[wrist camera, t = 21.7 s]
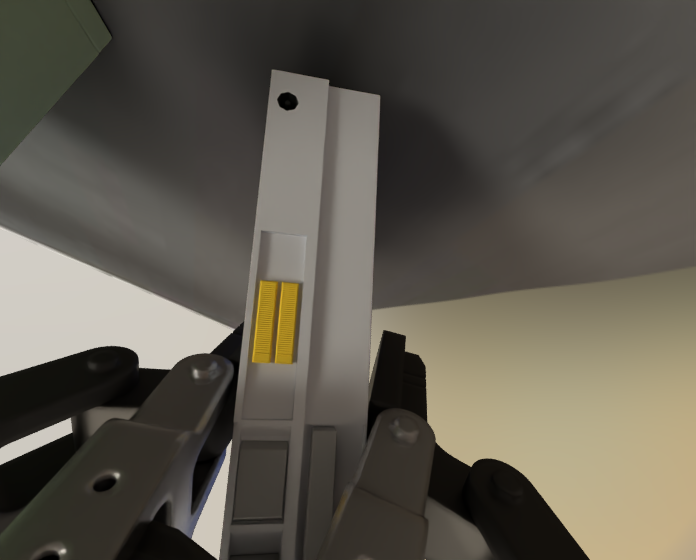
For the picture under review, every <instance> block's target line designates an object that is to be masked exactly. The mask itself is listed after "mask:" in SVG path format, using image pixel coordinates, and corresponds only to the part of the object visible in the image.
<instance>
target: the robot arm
mask: <svg viewBox="0 0 696 560" xmlns="http://www.w3.org/2000/svg"><path fill="white" fill-rule="evenodd" d="M243 330H244V322H243V323H242V324H240V327H239V326H238V327H237V328H236V329H235V330H234V331H233V333H231V334H230V335H229V336H228V337H227V338H226V339H225V340H224V341H223V342H222V343H221V344H220V345H218V346H217V347H216V348H215V349H214V350H213V351H212V352H211V353H210V354H206V353H204V354H196V355H192V356H188V357H186V358H184V359H182V360H180V361H179V362H178V363H177V364H176V365H175V366H174V367H173V368H172V369H171V370H165V369H148V368H146V369H145V368H139V360H138V356H137V354H136V353H135V352H134V351H132V350H130V349H128V348H125V347H118V346H106V347H98V348H94V349H90V350H87V351H84V352H80V353H77V354H73V355H70V356H67V357H64V358H61V359H57V360H54V361H50V362H47V363H44V364H41V365H37V366H34V367H31V368H28V369H24V370H21V371H17V372H14V373H11V374H7V375H4V376H1V377H0V448H1V447H3V446H5V445H7V444H9V443H11V442H14V441H16V440H19V439H21V438H23V437H26V436H28V435H30V434H33V433H35V432H38V431H40V430H42V429H44V428H47V427H49V426H52V425H54V424H57V423H59V422H61V421H64V420H66V419H68V418H71V423H72V431H73V433H71V434H68V435H66V436H64V437H62V438H60V439H57V440H55V441H53V442H50V443H48V444H46V445H44V446H42V447H39V448H37V449H35V450H33V451H30V452H28V453H26V454H24V455H22V456H19V457H17V458H15V459H13V460H11V461H8V462H6V463H4V464H2V465H0V560H217V559H216V558H215V557H213V556H212V555H210V554H209V553H208V552H207V551H206V550H204V549H203V548H202V547H200V546H199V545H198V544H197V543H195V542H194V541H193V540H192V539H191V538H192V535H193V532H194V529H195V526H196V524H197V521H198V519H199V517H200V515H201V512H202V510H203V507H204V505H205V503H206V501H207V498H208V496H209V494H210V491H211V489H212V487H213V485H214V482H215V480H216V478H217V475H218V473H219V471H220V468H221V466H222V464H223V461H224V459H225V456H226V448H227V446H228V444H229V443H230V441H231V440H232V438H233V429H234V422H233V421H234V412H235V403H236V394H237V385H238V376H239V366H240V357H241V348H242V339H243ZM405 341H406V336H404V335H401V334H397V333H393V332H390V331H386V330H384V331H383V334H382V338H381V341H380V345H379V349H378V353H377V357H376V360H375V364H374V367H373V371H372V375H371V379H370V383H369V394H368V419H367V443H366V445H365V448H364V450H363V453H362V455H361V458H360V460H359V463H358V465H357V468H356V470H355V473H354V475H353V478H352V480H351V482H348V484H347V486H346V488H345V490H344V492H343V495H342V497H341V499H340V502H339V504H338V507H337V509H336V512H335V514H334V516H333V519H332V521H331V524H330V526H329V528H328V531H327V533H326V536H325V538H324V541H323V543H322V545H321V548H320V550H319V553H318V555H317V558H316V560H425V559H426V560H590V559H589V558H588V557H587V555H586V554H585V553H584V551H583V550H582V549H581V547H580V546H579V545H578V544H577V542H576V541H575V540H574V538H573V537H572V536H571V535H570V533H569V532H568V530H567V529H566V528H565V527H564V525H563V524H562V523H561V521H560V520H559V519H558V517H557V516H556V515H555V513H554V512H553V511H552V510H551V508H550V507H549V506H548V504H547V503H546V502H545V501H544V499H543V498H542V496H541V495H540V494H539V493H538V492H537V490H536V489H535V487H534V486H533V485H532V484H531V482H530V481H529V480H528V479H527V478H526V477H525V476H524V475H523V474H522V473H520V472H519V471H518V470H516V469H515V468H513V467H512V466H510V465H508V464H506V463H504V462H502V461H498V460H495V459H480V460H478V461H476V462H475V463H474V464H473V465H472V467H470V466H468V465H466V464H465V463H463V462H461V461H459V460H458V459H456V458H454V457H453V456H451V455H449V454H448V453H447V452H445V451H444V450H443V449H442V448H441V447H440V446H439V445H438V444H437V443H436V442H435V440H436V439H435V434H434V432H433V430H432V428H431V427H430V426H429V424H428V423H427V400H426V379H425V378H426V370H425V369H426V368H425V365H424V363H423V362H422V360H421V358H420V357H419V355H416V354H412V353H409V352H405Z"/></svg>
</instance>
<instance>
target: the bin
mask: <svg viewBox="0 0 696 560" xmlns="http://www.w3.org/2000/svg"><path fill="white" fill-rule="evenodd" d="M111 39H112V37H111V35H110V33H109V31H108V30H107V28H106V26H105V24H104V23H103V21H102V19H101V18H100V16H99V14H98V12H97V11H96V9H95V7H94V6H93V4H92V2H91V0H0V166H1V164H2V163H3V162H4V161H5V160H6V159H7V158H8V156H9V155H10V154H11V153H12V152H13V151H14V150H15V149H16V147H17V146H18V145H19V144H20V143H21V142H22V141H23V140H24V138H25V137H26V136H27V135H28V134H29V133H30V132H31V130H32V129H33V128H34V127H35V126H36V125H37V124H38V123H39V121H40V120H41V119H42V118H43V117H44V116H45V115H46V114H47V112H48V111H49V110H50V109H51V108H52V107H53V106H54V104H55V103H56V102H57V101H58V100H59V99H60V98H61V97H62V95H63V94H64V93H65V92H66V91H67V90H68V89H69V88H70V86H71V85H72V84H73V83H74V82H75V81H76V80H77V78H78V77H79V76H80V75H81V74H82V73H83V72H84V71H85V69H86V68H87V67H88V66H89V65H90V64H91V63H92V62H93V60H94V59H95V58H96V57H97V56H98V55H99V53H98V52H101V50H102V49H103V48H104V47H105V46H106V45H107V44H108V43H109V41H110V40H111Z"/></svg>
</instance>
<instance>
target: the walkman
mask: <svg viewBox="0 0 696 560" xmlns="http://www.w3.org/2000/svg"><path fill="white" fill-rule="evenodd" d="M379 120H380V95H375V94H370V93H364V92H359V91H354V90H348V89H343V88H337V87H332V86H329V80H326V79H321V78H316V77H311V76H305V75H300V74H295V73H290V72H284V71H279V70H273V69H272V74H271V83H270V93H269V102H268V111H267V120H266V129H265V138H264V147H263V156H262V166H261V175H260V184H259V193H258V202H257V211H256V220H255V229H254V239H253V248H252V257H251V266H250V275H249V284H248V293H247V302H246V312H245V321H244V330H243V339H242V348H241V357H240V366H239V376H238V385H237V394H236V403H235V412H234V421H233V422H234V429H233V438H232V448H231V456H230V465H229V475H228V484H227V494H226V503H225V511H224V521H223V531H222V539H221V549H220V557H219V560H316V558H317V555H318V553H319V550H320V548H321V545H322V543H323V541H324V538H325V536H326V533H327V531H328V528H329V526H330V524H331V521H332V519H333V516H334V514H335V512H336V509H337V507H338V504H339V502H340V499H341V497H342V495H343V492H344V490H345V488H346V486H347V484H348V482H351V480H352V478H353V475H354V473H355V470H356V468H357V465H358V463H359V460H360V458H361V455H362V453H363V450H364V448H365V445H366V443H367V419H368V394H369V368H370V344H371V318H372V295H373V270H374V245H375V220H376V195H377V170H378V145H379Z"/></svg>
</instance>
